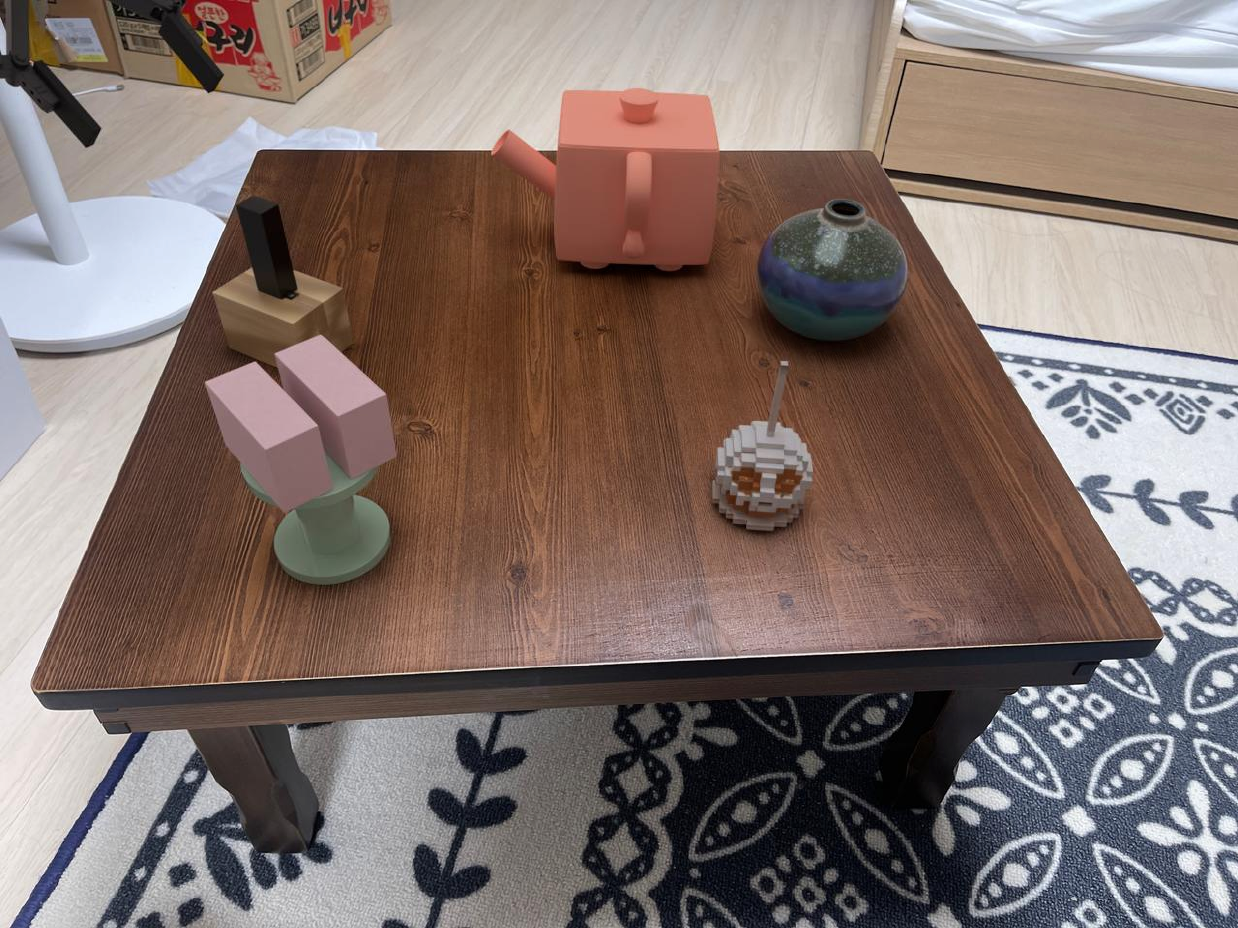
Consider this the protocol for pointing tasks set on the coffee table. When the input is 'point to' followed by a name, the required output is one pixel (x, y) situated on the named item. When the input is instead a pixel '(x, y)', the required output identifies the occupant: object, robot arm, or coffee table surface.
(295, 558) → the cake stand
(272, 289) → the knife
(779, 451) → the decorative ornament
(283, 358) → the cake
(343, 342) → the knife block
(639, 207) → the teapot
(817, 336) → the vase
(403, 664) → the coffee table surface
